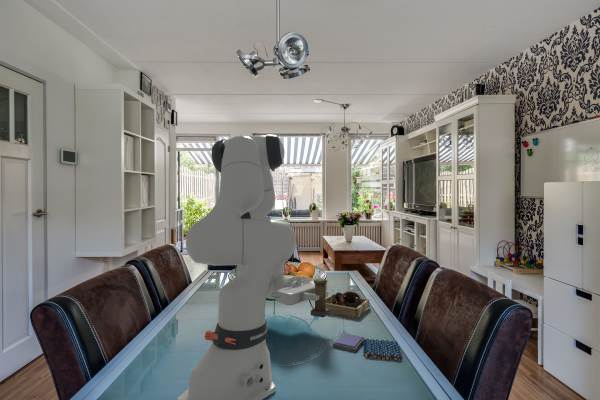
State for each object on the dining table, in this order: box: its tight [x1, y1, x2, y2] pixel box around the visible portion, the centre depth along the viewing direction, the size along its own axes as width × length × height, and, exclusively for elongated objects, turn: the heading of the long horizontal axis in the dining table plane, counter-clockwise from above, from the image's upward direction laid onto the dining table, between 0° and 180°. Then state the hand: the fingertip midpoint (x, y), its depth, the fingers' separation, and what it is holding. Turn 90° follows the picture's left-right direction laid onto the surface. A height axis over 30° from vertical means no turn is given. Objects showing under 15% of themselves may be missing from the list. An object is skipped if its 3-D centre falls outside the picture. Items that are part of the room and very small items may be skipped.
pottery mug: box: [334, 290, 362, 308], centre depth 135 cm, size 12×10×8 cm
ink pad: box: [332, 332, 366, 353], centre depth 103 cm, size 9×7×1 cm
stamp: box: [310, 278, 330, 318], centre depth 107 cm, size 4×4×11 cm
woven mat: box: [362, 338, 403, 361], centre depth 98 cm, size 10×11×2 cm
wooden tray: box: [326, 293, 370, 319], centre depth 135 cm, size 14×16×4 cm
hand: (322, 296), depth 107 cm, fingers closed on stamp, 3 cm apart
